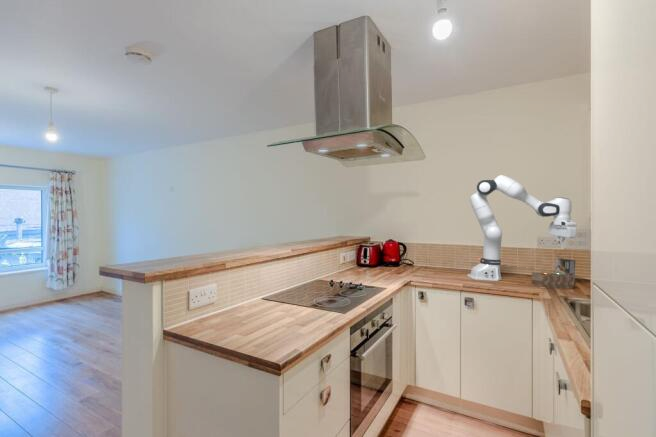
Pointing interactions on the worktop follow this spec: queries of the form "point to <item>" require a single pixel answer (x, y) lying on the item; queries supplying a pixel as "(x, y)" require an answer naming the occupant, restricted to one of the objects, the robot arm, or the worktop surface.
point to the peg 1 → (546, 273)
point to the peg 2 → (558, 273)
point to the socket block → (553, 281)
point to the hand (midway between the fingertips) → (560, 243)
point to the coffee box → (565, 266)
